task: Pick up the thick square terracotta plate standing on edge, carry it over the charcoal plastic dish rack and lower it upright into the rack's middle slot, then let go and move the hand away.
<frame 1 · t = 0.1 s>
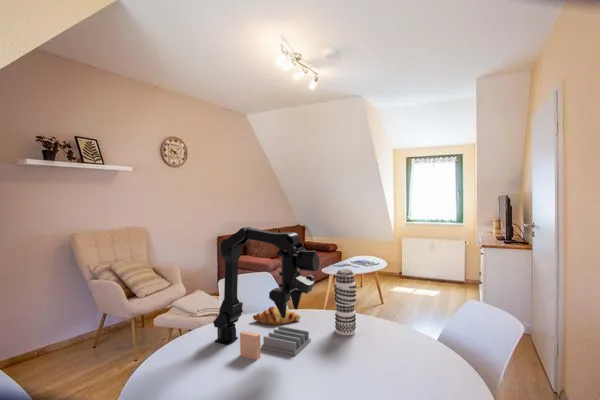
hand: (290, 313, 114), 15 cm above the table, tool pointing down, fingers open, 9 cm apart
croissant: (276, 322, 146), on the table
black-white patterned cylinder: (345, 331, 135), on the table
dish rack: (286, 344, 122), on the table
terracotta plate: (250, 356, 113), on the table
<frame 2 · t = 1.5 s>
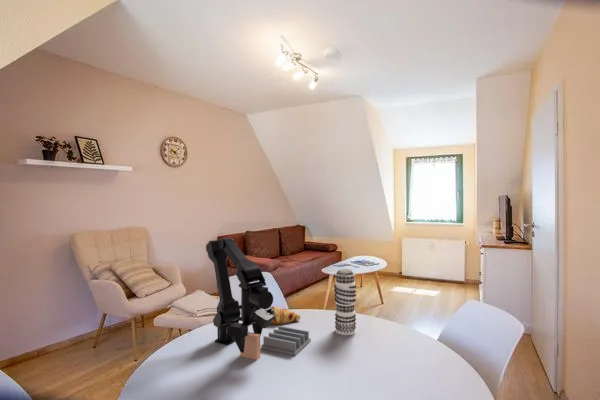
hand: (250, 346, 113), 3 cm above the table, tool pointing down, fingers open, 9 cm apart
nothing on the table moved.
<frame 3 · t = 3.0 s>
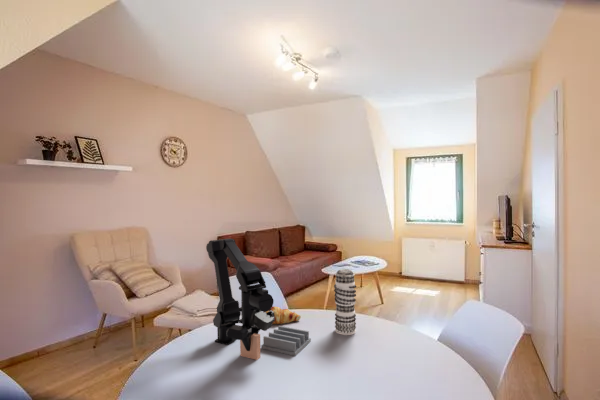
hand: (250, 349, 113), 3 cm above the table, tool pointing down, fingers closed on terracotta plate, 2 cm apart
terracotta plate: (250, 356, 113), on the table, touching gripper
everything else where it was.
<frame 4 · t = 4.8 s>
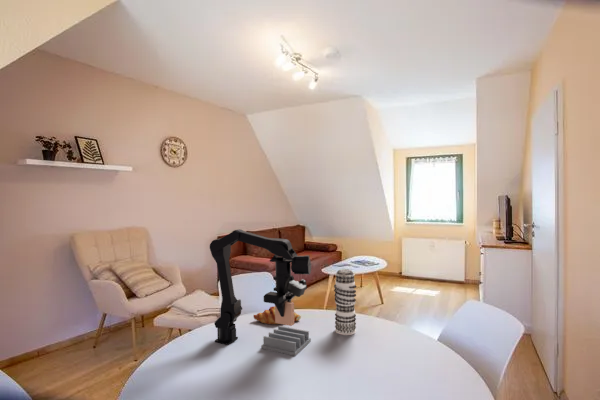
hand: (284, 315, 121), 11 cm above the table, tool pointing down, fingers closed on terracotta plate
terracotta plate: (284, 323, 121), point 8 cm above the table, touching gripper
everything else where it was.
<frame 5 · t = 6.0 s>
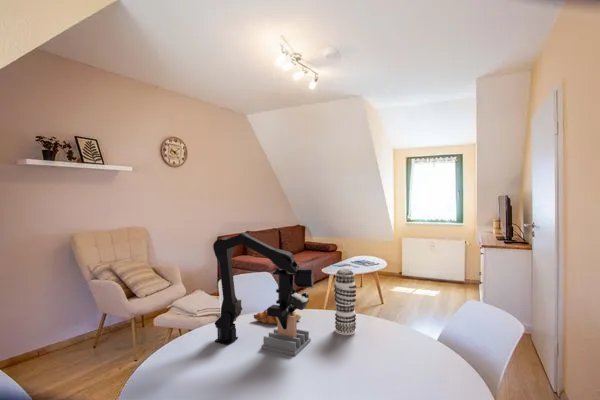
hand: (286, 327, 122), 6 cm above the table, tool pointing down, fingers closed on terracotta plate, 2 cm apart
terracotta plate: (287, 336, 122), point 3 cm above the table, touching gripper
everything else where it was.
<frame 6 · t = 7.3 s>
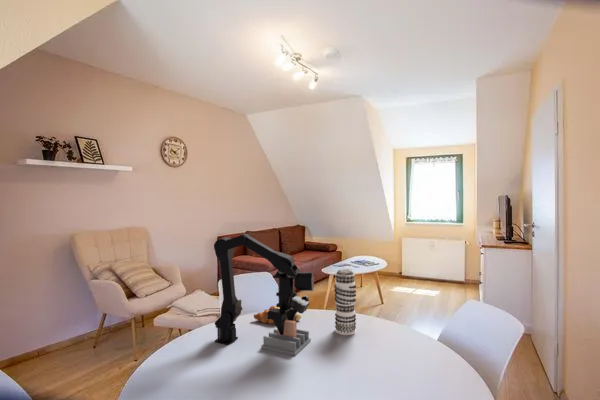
hand: (286, 331, 122), 5 cm above the table, tool pointing down, fingers open, 7 cm apart
terracotta plate: (287, 342, 122), point 1 cm above the table, touching dish rack
everything else where it was.
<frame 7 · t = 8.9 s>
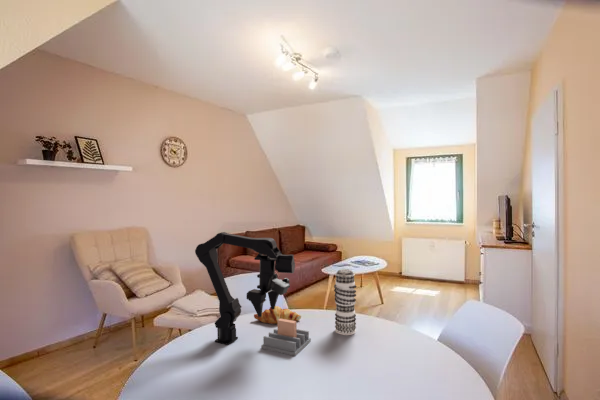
hand: (266, 312, 124), 12 cm above the table, tool pointing down, fingers open, 9 cm apart
nothing on the table moved.
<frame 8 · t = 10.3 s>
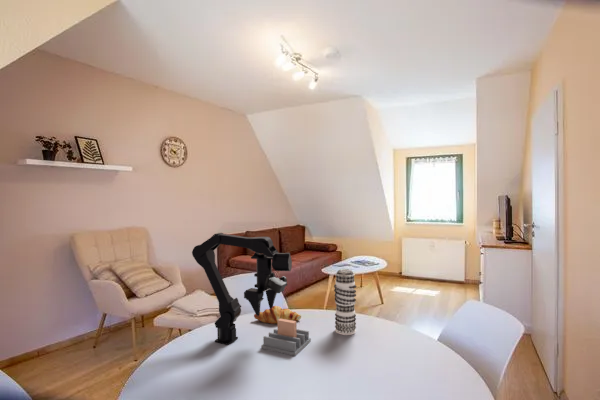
hand: (264, 311, 124), 12 cm above the table, tool pointing down, fingers open, 9 cm apart
nothing on the table moved.
at the end: terracotta plate 0.2 cm off-centre on the dish rack, point 1.0 cm above the dish rack's base; terracotta plate tilted 0°; the gripper is holding nothing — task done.
